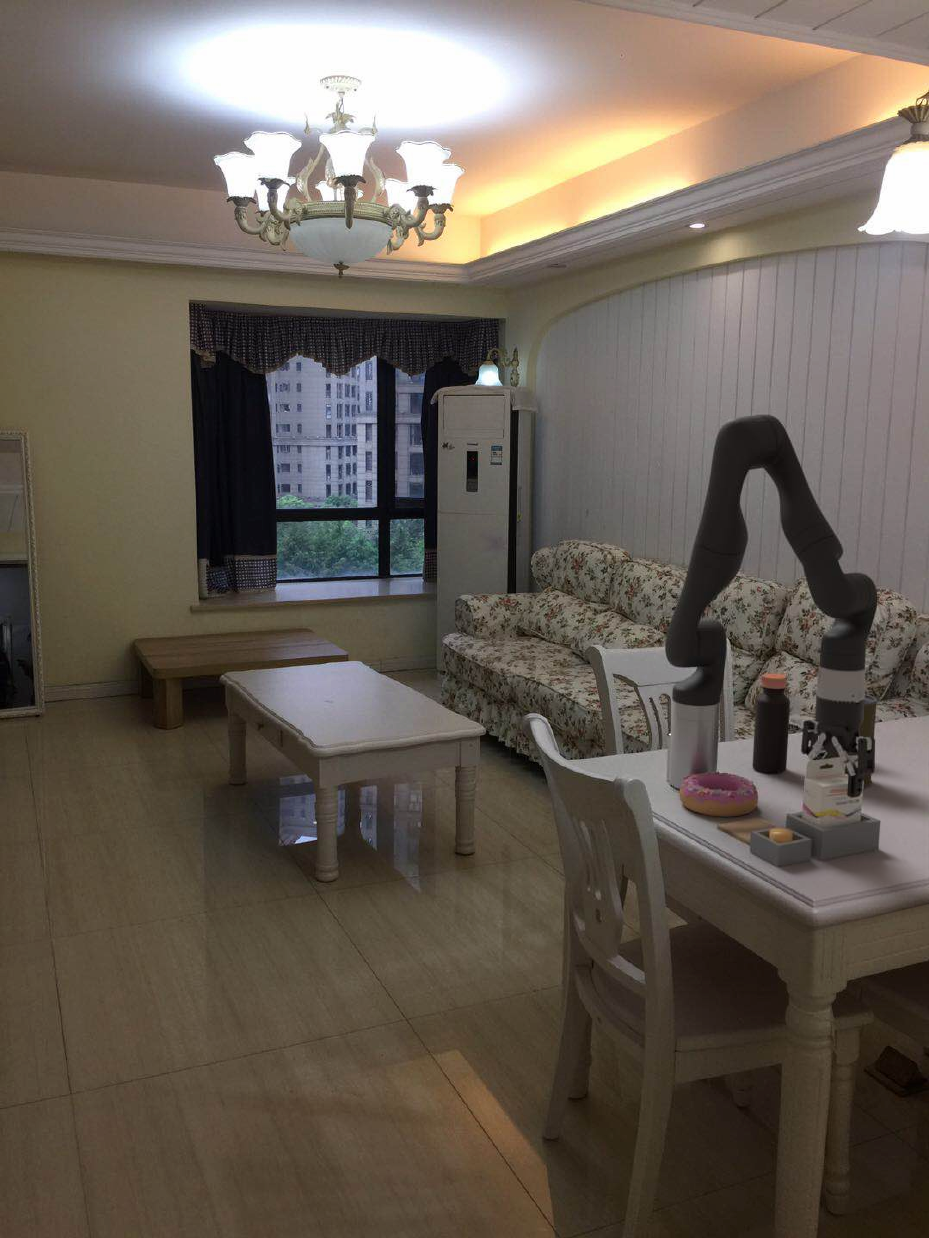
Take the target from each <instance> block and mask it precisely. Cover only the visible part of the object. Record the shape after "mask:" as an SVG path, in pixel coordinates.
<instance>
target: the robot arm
mask: <svg viewBox="0 0 929 1238" xmlns="http://www.w3.org/2000/svg"><path fill="white" fill-rule="evenodd" d="M716 435H717V436H716V439H715V442H714V446H713V452H712V453H713V454H712V460H711V465H710V474H709V481H708V486H707V492H706V495H705V500H704V505H703V509H702V514H701V517H700V522H699V525H698V528H697V532H696V533H695V534H696V535H695V538H694V543H693V547H692V550H691V555H690V559H689V564H688V568H687V571H686V575H685V579H684V583H683V586H682V589H681V592H680V595H679V599H678V602H677V604H676V607H675V609H674V611H673V614H672V617H671V619H670V622H669V625H668V628H667V632H666V635H665V636H666V637H665V644H664V645H665V646H664V648H665V649H664V651H665V657H666V660H667V661H668V663H669V664H670V665H672V666H673V667H675V668H682V669H683V668H684V669H685V668H686V669H687V668H696V669H695V671H694V672H693V673H692V674H691V675H690V676H688V677H687V678H685V679H683V680H681V681H679V682H677V683H675V684H674V686H673V688H672V693H671V717H670V718H671V720H670V721H671V722H670V723H671V724H670V733H669V734H668V735H667V736H668V737H667V753H666V754H667V758H666V780H667V779H668V780H667V781H668V783H669V785H670V786H671V785H672V786H671V787H673V786H674V787H673V788H676V789H678V790H680V786H681V784H682V782H683V779H684V778H685V777H686V776H688V775H692V774H695V773H701V774H702V773H705V772H709V773H712V772H718V771H717V769H718V757H719V756H718V755H719V753H718V750H719V734H720V733H719V732H720V731H719V730H720V712H721V711H720V710H721V709H720V708H721V707H720V706H721V695H722V691H723V687H724V680H725V671H726V669H725V668H726V661H727V649H728V643H727V642H728V641H727V639H728V638H727V633H726V630H725V627H724V626H723V624H722V623H721V622H720V621H719V620H716V619H702V617H703V615H704V613H705V611H706V609H707V608H708V607H709V605H710V604H711V603H712V602H713V601H714V600H715V599H716V598H717V597H718V596H719V595H720V594H721V593H722V592H723V591H724V590H725V589H726V588H727V587H728V586H729V585H730V584H731V583H732V582H733V581H734V579H735V578H736V576H737V575H738V573H739V571H740V569H741V568H742V567H741V566H742V564H743V560H744V557H745V553H746V551H747V550H746V549H747V545H748V540H749V533H748V527H747V524H746V520H745V517H744V514H743V510H742V507H741V496H742V495H741V494H742V493H743V487H744V483H745V481H746V477H747V475H748V472H750V471H752V470H758V469H764V471H766V474H767V475H769V477H770V478H771V480H772V481H773V483H774V485H775V487H776V490H777V492H778V498H779V513H780V514H779V515H780V524H781V528H782V532H783V534H784V537H785V539H786V540H787V542H788V544H789V545H790V547H791V550H792V552H793V553H794V554H795V556H796V557H797V559H798V561H799V562H800V564H801V565H802V569H803V573H804V576H805V577H804V578H805V580H806V584H807V586H808V589H809V594H810V596H811V599H812V600H813V602H814V604H815V606H816V607H817V609H818V610H819V611H820V612H821V613H822V614H824V615H825V616H827V617H828V618H831V619H834V622H833V626H832V627H831V628H830V629H829V630H828V631H826V632H824V634H822V637H821V641H820V651H819V652H820V653H819V668H818V672H817V673H818V674H817V677H816V678H817V679H816V693H815V694H816V695H815V711H814V712H815V715H814V719H807V720H804V721H803V724H802V725H803V728H802V739H801V747H800V751H801V753H802V755H806V756H807V757H808V760H809V761H812V760H820V759H823V758H824V757H825V756H826V754H827V753H833V754H834V755H836V756H838V757H840V758H841V760H842V762H843V763H845V764H846V766H847V769H848V771H849V773H850V775H848V789H847V796H849V797H851V798H854V797H859V796H860V794H861V793H862V785H863V776H864V775H865V774H871V775H872V774H875V771H876V769H875V767H876V766H875V765H876V739H875V737H874V738H873V737H862V736H860V733H859V727H860V725H861V724H862V723H863V717H864V701H865V694H866V671H865V670H866V669H865V668H866V655H867V642H868V639H869V636H870V633H871V631H872V627H873V623H874V619H875V617H876V613H877V608H878V601H879V600H878V599H879V597H878V589H877V587H876V584H875V582H874V581H873V579H872V578H871V577H870V576H868V575H867V574H865V573H862V572H849V573H845V572H844V571H843V569H842V567H841V565H840V562H839V561H840V559H841V558H842V557H843V554H844V547H843V545H842V543H841V542H840V540H839V538H838V537H837V534H836V533H835V532H834V530H833V528H832V526H831V525H830V523H829V522H828V520H827V519H826V517H825V515H824V514H823V512H822V510H821V509H820V506H819V505H818V503H817V501H816V499H815V497H814V495H813V493H812V491H811V488H810V486H809V483H808V480H807V478H806V475H805V473H804V470H803V468H802V466H801V463H800V461H799V459H798V456H797V453H796V451H795V448H794V445H793V443H792V440H791V438H790V436H789V434H788V432H787V430H786V429H785V426H784V425H783V424H782V422H781V421H780V420H779V419H778V418H777V417H775V416H773V415H771V414H754V415H746V416H738V417H733V418H730V419H729V420H726V421H725V422H724V423H723V424H722V425H721V427H720V429H719V431H718V432H717V434H716ZM852 752H853V756H849V755H850V754H851V753H852ZM866 760H867V766H866V767H865V764H866ZM853 762H854V763H855V765H856V767H857V768H855V766H854V764H853ZM820 769H824V766H821V767H820Z"/></svg>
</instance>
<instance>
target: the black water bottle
mask: <svg viewBox="0 0 929 1238" xmlns="http://www.w3.org/2000/svg"><path fill="white" fill-rule="evenodd" d="M787 679H788V677H787V676H786V675H783V674H779V673H765V674H762V675H761V689H762V692H761V693H760V694H759V695H758V696H757V697H756V698H755V710H754V711H755V713H754V714H755V715H754V727H753V728H754V732H753V753H752V769H753V770H754V771H757V772H759V773H763V774H769V775H770V774H772V775H776V774H779V775H780V774H782V773H785V772H786V771H787V763H788V762H787V761H788V745H789V744H788V743H789V742H788V741H789V727H790V726H789V725H790V712H791V711H790V710H791V709H790V707H791V700H790V699H789V698H788V697H787V695H786V693H785V691H786V688H787Z"/></svg>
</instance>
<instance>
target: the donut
mask: <svg viewBox="0 0 929 1238" xmlns="http://www.w3.org/2000/svg"><path fill="white" fill-rule="evenodd" d="M757 789H758V788H757V787H756V785H755V784H754V781H752V780H749V779H748V778H745V777H743V776H740V775H739V774H731V773H728V772H720V771H717V772H712V773H709V772H705V773H702V774H701V773H695V774H692V775H688V776H686V777H685V778H684V779H683V782H682V784H681V786H680V789H679V797H680V802H681V803H682V805H683V806H684V807H686V808H687V809H689V810H690V811H693V812H695V813H697V812H698V813H697V814H700V815H706V816H711V817H721V818H722V817H723V818H725V817H726V818H728V817H729V818H731V817H739V816H743V815H747V814H750V813H751V812H753V811H754V810H755V809H756V807H757V804H758V802H759V795H758V794H759V792H758V790H757Z"/></svg>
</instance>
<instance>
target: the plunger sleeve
mask: <svg viewBox="0 0 929 1238" xmlns="http://www.w3.org/2000/svg"><path fill="white" fill-rule="evenodd" d="M775 828H781V829H786V830H789V831H791V832H792V833H793V836H792V841H789V842H784V843H777V842H775V841H774V840H772V839H770V838H769V836H770V830H771V829H775ZM811 845H812V839H809V838H807V837H805V836H803V835H801V834H799V833H797V832H795V831H793V830H791V829H789V828H787V827H786V826H785V825H781V826H776V827H774V828H768V829H763V830H757V831H752V832H751V837H750V845H749V852H750V853H751V854H753V855H755V856H757V857H759V858H761V859H762V860H765V861H766V862H768V863H770V864H772V865H774V866H775V867H777V868H778V867H782V866H787V865H793V864H797V863H802V862H808V861H811V859H812V858H811V857H812V856H811Z"/></svg>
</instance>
